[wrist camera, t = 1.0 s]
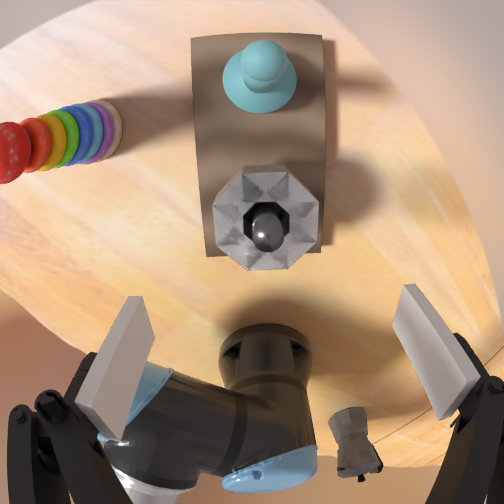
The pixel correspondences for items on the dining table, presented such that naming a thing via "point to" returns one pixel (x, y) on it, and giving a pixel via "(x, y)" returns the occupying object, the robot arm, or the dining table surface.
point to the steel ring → (265, 190)
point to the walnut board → (257, 122)
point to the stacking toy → (59, 139)
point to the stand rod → (266, 225)
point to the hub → (260, 78)
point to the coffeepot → (354, 444)
